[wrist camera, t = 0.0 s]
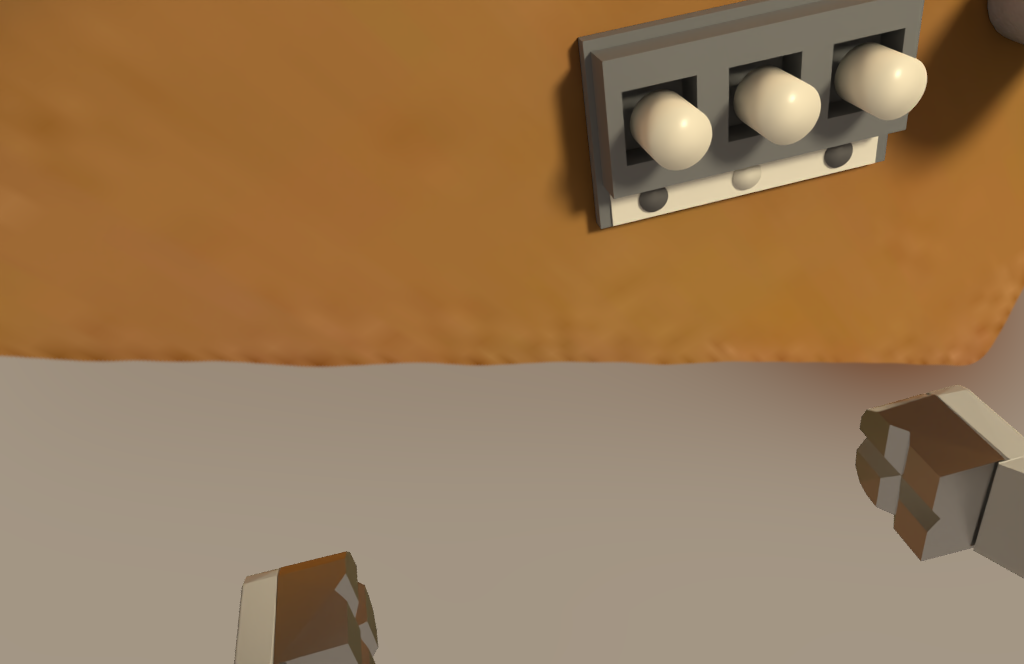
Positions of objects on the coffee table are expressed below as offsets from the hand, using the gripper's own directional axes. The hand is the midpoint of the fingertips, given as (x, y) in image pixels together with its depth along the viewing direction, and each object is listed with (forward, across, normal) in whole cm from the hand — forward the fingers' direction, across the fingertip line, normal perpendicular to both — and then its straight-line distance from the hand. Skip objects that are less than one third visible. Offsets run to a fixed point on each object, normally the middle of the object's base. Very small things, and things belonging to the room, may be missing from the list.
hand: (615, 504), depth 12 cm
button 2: (+44, -25, +12) cm, 52 cm away
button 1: (+45, -17, +12) cm, 49 cm away
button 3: (+44, -33, +12) cm, 57 cm away
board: (+48, -25, +14) cm, 56 cm away
